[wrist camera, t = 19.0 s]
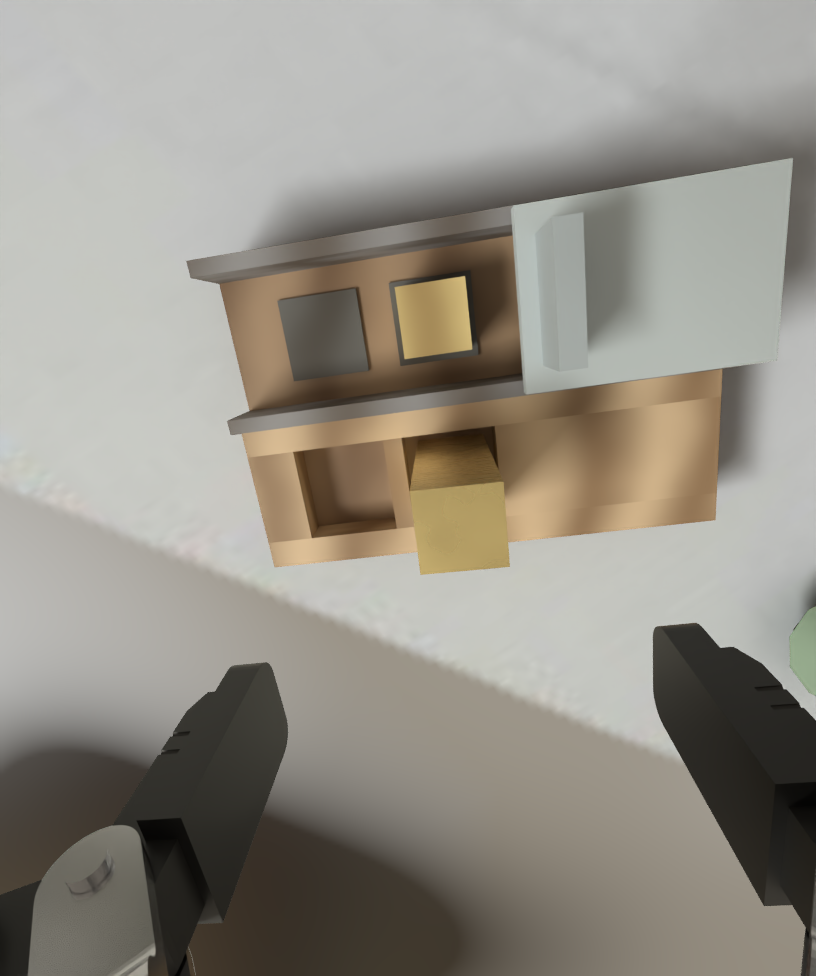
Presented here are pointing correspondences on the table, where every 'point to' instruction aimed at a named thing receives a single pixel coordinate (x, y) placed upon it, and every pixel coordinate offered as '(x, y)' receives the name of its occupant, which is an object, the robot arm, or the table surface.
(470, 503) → the pin
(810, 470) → the table surface
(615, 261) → the lid
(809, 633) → the character figurine
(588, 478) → the board
